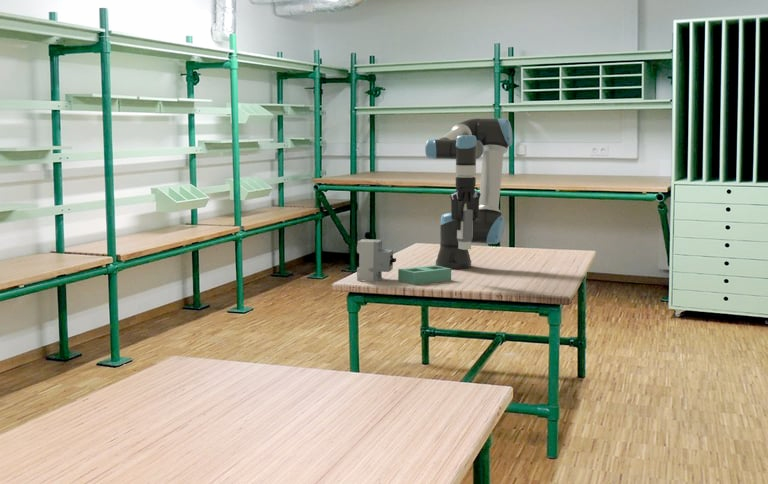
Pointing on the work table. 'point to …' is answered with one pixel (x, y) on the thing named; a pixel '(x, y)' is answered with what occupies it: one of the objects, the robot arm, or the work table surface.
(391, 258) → the circuit breaker
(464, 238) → the plug
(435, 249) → the work table surface
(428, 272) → the box
